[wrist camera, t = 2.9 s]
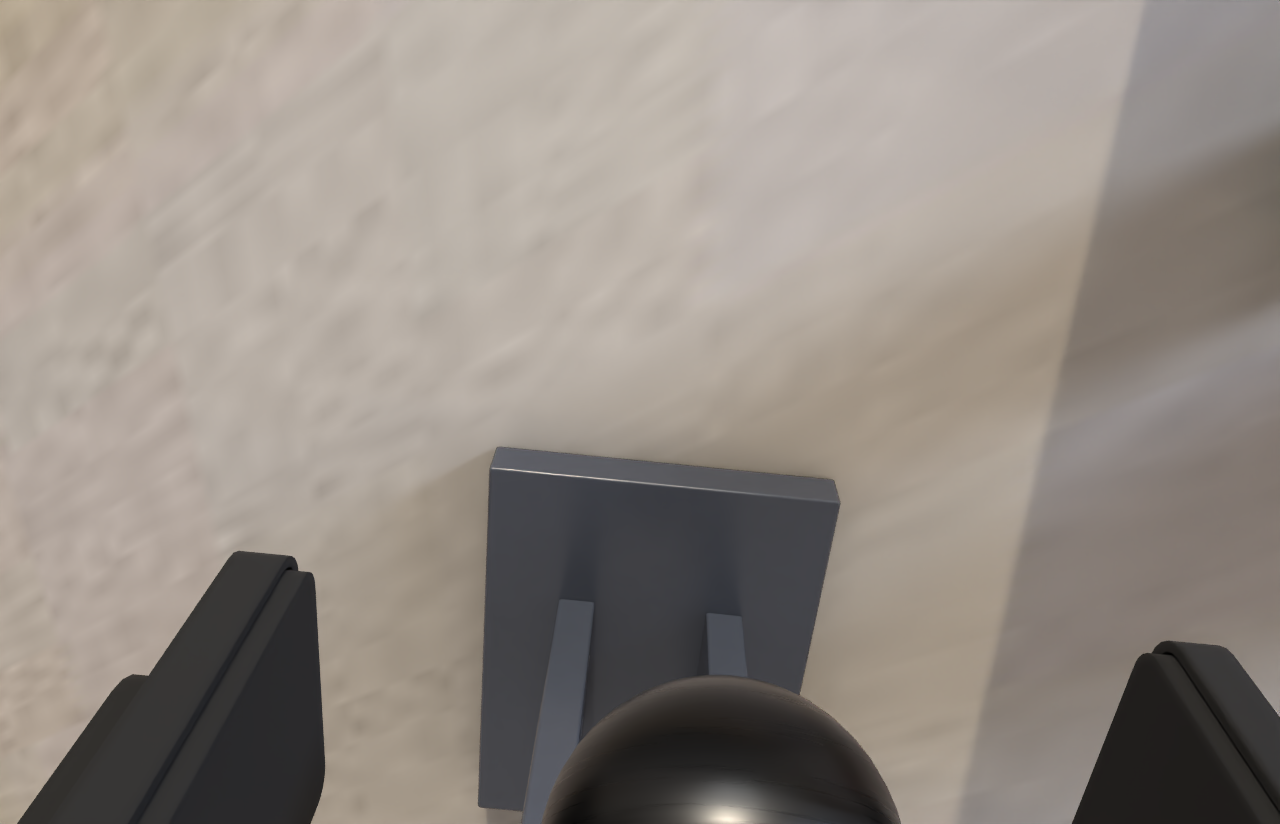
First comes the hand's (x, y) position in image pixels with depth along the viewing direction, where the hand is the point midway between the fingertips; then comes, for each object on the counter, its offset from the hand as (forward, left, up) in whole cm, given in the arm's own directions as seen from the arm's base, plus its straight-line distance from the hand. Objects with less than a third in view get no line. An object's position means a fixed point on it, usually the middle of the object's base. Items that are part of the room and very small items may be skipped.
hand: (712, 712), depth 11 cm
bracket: (+12, 0, -16) cm, 20 cm away
